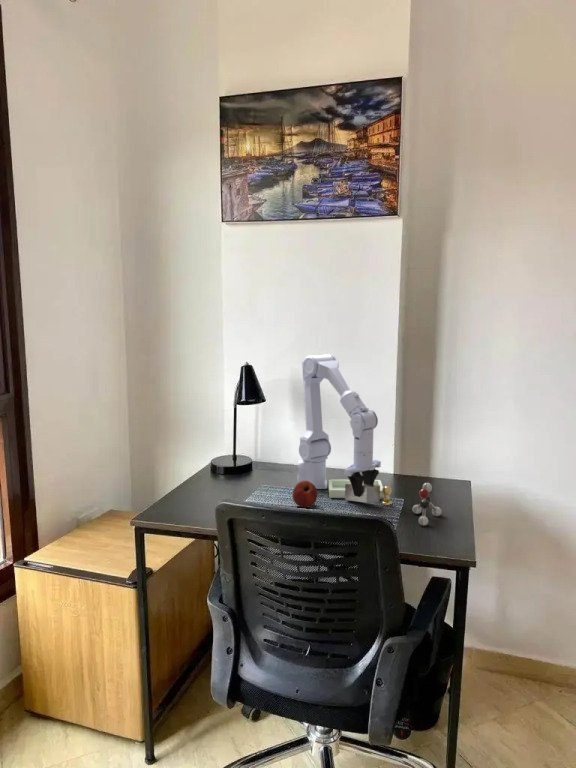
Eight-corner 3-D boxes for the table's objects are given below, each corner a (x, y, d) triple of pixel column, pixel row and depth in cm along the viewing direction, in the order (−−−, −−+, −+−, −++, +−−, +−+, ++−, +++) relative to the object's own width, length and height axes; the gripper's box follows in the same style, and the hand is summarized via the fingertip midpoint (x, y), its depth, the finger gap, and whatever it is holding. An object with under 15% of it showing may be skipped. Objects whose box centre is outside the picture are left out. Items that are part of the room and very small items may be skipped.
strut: (344, 500, 180) (344, 483, 180) (351, 498, 183) (351, 482, 183) (373, 503, 174) (373, 486, 174) (379, 501, 177) (379, 485, 177)
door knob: (382, 505, 178) (382, 487, 177) (381, 502, 180) (381, 484, 180) (392, 505, 177) (392, 487, 177) (390, 502, 180) (391, 484, 180)
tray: (329, 498, 184) (329, 490, 183) (328, 487, 195) (328, 479, 194) (384, 499, 183) (384, 490, 182) (380, 488, 194) (380, 479, 193)
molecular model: (441, 514, 170) (442, 479, 168) (438, 530, 159) (439, 492, 157) (412, 511, 173) (413, 476, 171) (407, 526, 161) (408, 488, 160)
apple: (291, 510, 173) (291, 484, 172) (293, 501, 181) (293, 476, 180) (316, 511, 173) (317, 484, 172) (317, 502, 181) (317, 477, 180)
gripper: (357, 457, 169) (356, 503, 171) (389, 449, 179) (387, 492, 181) (339, 453, 174) (338, 497, 176) (370, 444, 184) (370, 486, 186)
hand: (362, 494), depth 179 cm, fingers closed on strut, 4 cm apart
